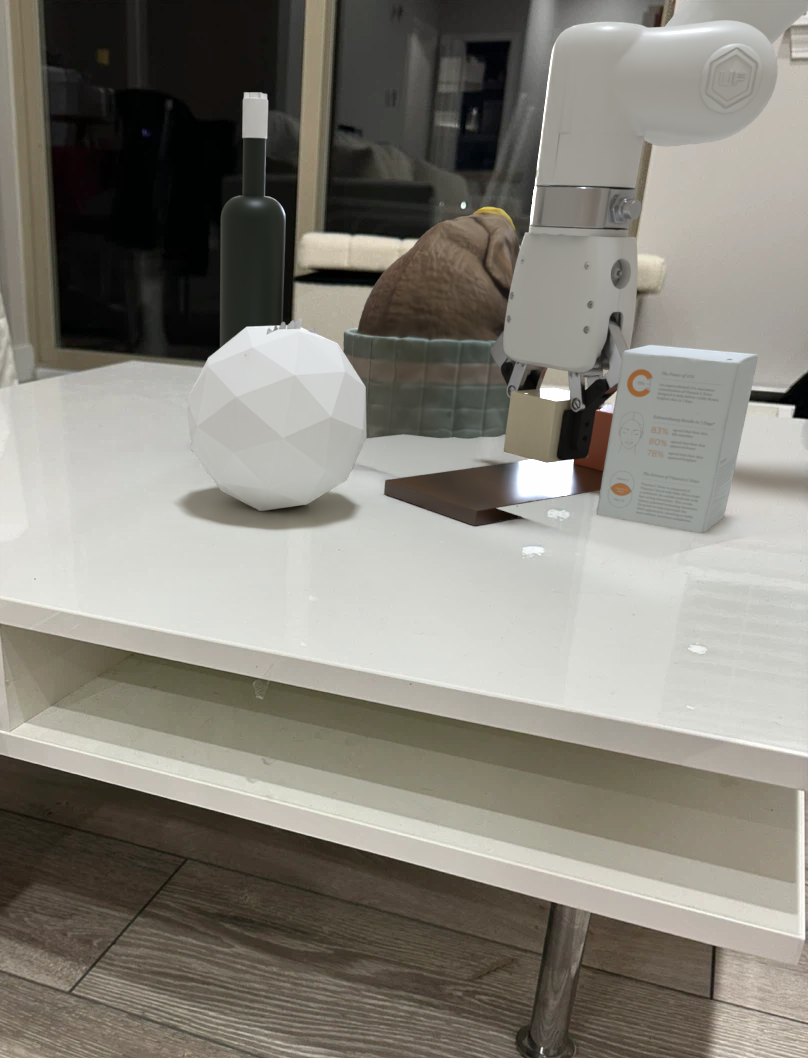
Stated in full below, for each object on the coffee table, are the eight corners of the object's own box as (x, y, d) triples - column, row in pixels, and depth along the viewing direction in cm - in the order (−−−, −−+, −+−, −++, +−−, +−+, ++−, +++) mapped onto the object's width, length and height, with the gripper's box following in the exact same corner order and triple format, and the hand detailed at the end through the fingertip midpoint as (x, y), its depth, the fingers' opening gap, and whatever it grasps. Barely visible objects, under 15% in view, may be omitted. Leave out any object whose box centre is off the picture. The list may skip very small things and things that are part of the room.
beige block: (543, 446, 93) (552, 387, 90) (588, 457, 89) (598, 396, 87) (503, 451, 90) (510, 391, 88) (546, 463, 86) (555, 400, 84)
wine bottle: (262, 442, 106) (270, 97, 93) (288, 454, 101) (301, 93, 88) (209, 446, 103) (210, 93, 90) (234, 458, 99) (239, 88, 86)
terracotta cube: (609, 458, 98) (618, 403, 96) (653, 469, 94) (664, 412, 92) (572, 463, 95) (581, 407, 93) (616, 475, 92) (626, 416, 90)
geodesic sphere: (261, 399, 93) (212, 263, 81) (413, 417, 88) (384, 274, 76) (192, 531, 88) (128, 406, 76) (348, 559, 82) (307, 429, 70)
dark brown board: (592, 463, 101) (594, 450, 101) (689, 488, 93) (692, 474, 93) (383, 493, 88) (384, 479, 88) (474, 526, 80) (476, 510, 80)
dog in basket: (540, 413, 126) (569, 209, 116) (554, 456, 103) (591, 209, 94) (351, 402, 129) (363, 203, 119) (325, 442, 107) (338, 201, 97)
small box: (722, 530, 81) (762, 353, 75) (699, 549, 76) (740, 361, 71) (618, 512, 85) (649, 342, 79) (591, 528, 80) (621, 349, 75)
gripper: (705, 219, 77) (657, 468, 85) (533, 213, 90) (505, 430, 98) (638, 217, 73) (594, 478, 81) (468, 211, 86) (445, 437, 94)
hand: (546, 449), depth 89 cm, fingers closed on beige block, 5 cm apart
